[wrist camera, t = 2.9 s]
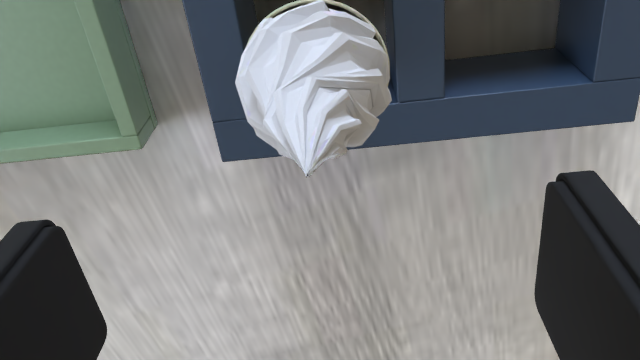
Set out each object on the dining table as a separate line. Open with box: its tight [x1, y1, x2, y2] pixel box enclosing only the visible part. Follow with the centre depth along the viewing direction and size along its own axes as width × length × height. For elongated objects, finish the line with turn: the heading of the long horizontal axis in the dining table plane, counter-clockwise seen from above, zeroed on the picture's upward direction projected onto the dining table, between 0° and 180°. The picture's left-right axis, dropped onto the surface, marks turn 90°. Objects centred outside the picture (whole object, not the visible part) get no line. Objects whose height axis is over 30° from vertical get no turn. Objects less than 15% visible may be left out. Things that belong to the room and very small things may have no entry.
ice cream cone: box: [235, 0, 392, 178], centre depth 19 cm, size 5×5×15 cm
